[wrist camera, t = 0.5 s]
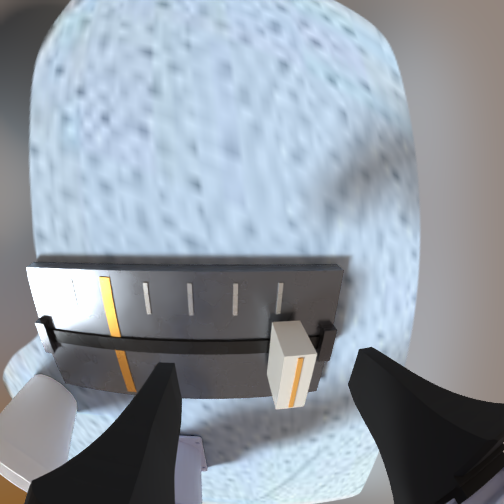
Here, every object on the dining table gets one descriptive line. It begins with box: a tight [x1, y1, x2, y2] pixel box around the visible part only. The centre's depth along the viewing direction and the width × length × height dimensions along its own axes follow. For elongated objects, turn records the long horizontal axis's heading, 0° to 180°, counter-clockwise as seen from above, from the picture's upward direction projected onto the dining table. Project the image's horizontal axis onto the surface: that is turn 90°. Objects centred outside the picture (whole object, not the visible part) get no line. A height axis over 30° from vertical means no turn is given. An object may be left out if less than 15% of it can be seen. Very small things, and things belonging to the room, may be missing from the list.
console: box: [26, 262, 344, 399], centre depth 19 cm, size 12×24×2 cm, turn 88°
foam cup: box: [0, 374, 78, 492], centre depth 15 cm, size 10×9×13 cm
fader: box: [267, 321, 317, 410], centre depth 17 cm, size 5×2×4 cm, turn 178°
